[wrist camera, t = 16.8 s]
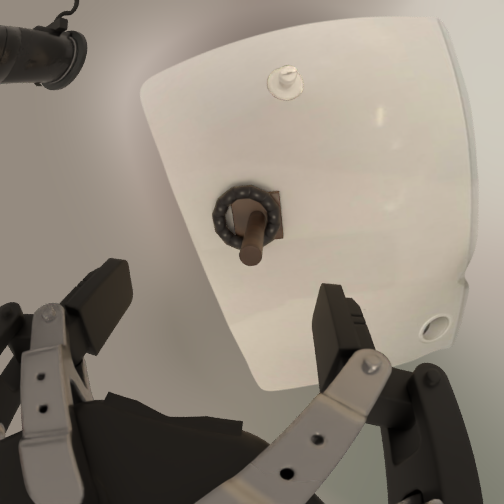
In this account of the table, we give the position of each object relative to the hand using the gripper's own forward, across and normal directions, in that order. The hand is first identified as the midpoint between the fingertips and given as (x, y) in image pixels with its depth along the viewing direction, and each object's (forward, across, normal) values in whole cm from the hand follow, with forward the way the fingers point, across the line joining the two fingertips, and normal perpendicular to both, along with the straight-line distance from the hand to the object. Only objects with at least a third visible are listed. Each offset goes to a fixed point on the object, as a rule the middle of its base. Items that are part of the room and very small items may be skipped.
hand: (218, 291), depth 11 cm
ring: (+28, +1, +7) cm, 29 cm away
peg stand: (+30, 0, +7) cm, 31 cm away
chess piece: (+30, -3, -13) cm, 33 cm away
